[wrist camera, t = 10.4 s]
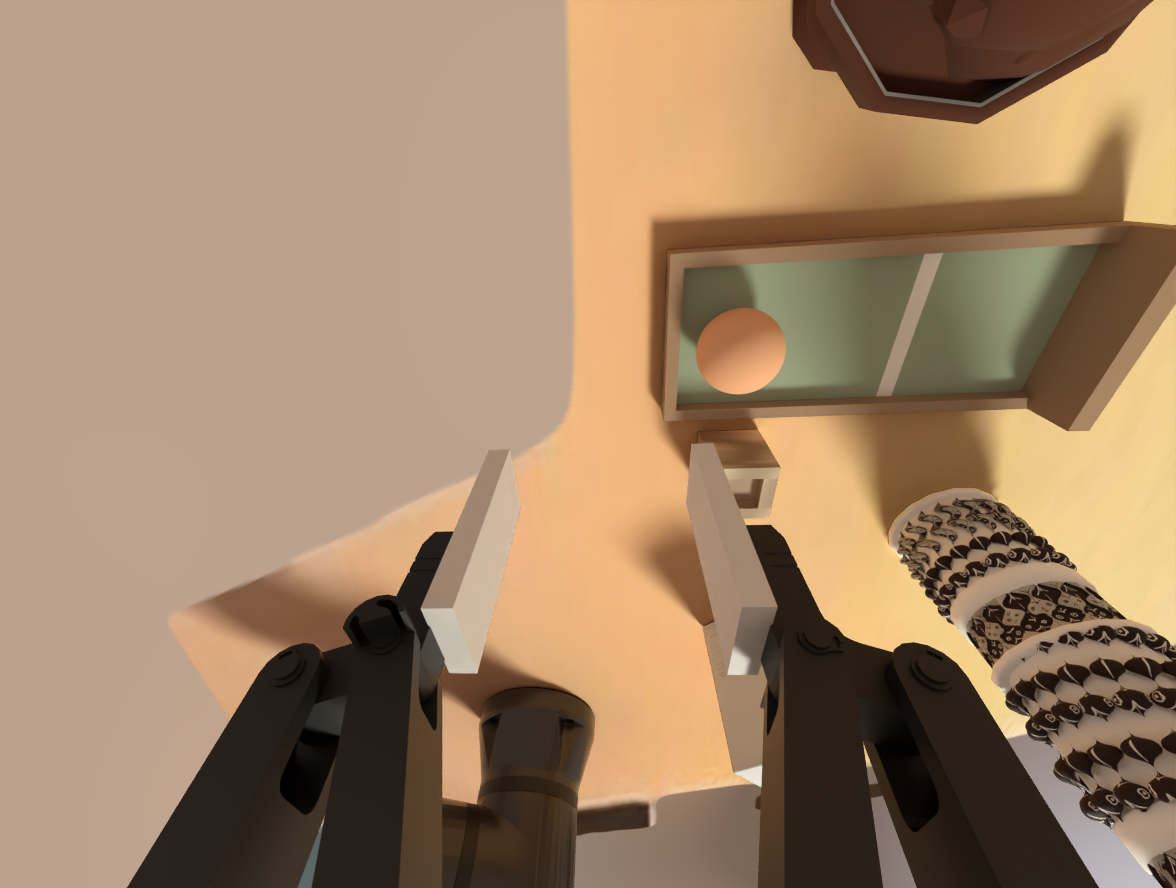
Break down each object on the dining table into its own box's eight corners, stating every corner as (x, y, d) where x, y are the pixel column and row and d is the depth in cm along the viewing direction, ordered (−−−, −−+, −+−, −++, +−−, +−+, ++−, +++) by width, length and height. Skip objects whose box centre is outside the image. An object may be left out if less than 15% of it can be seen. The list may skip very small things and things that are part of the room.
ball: (685, 376, 28) (703, 411, 24) (690, 301, 26) (711, 325, 21) (760, 372, 28) (791, 406, 24) (773, 295, 25) (810, 318, 21)
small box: (700, 626, 44) (731, 773, 33) (752, 600, 42) (803, 751, 31) (744, 658, 47) (786, 803, 36) (795, 636, 45) (856, 785, 34)
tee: (693, 478, 34) (705, 519, 30) (698, 431, 31) (711, 469, 27) (749, 476, 33) (768, 517, 29) (758, 429, 31) (780, 467, 27)
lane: (661, 410, 31) (668, 443, 27) (667, 249, 25) (677, 263, 21) (1026, 397, 29) (1089, 430, 25) (1124, 220, 23) (1225, 229, 19)
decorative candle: (960, 464, 32) (1628, 1013, 11) (1028, 515, 34) (1682, 1045, 14) (859, 535, 36) (1202, 1025, 15) (926, 576, 39) (1301, 1047, 18)
